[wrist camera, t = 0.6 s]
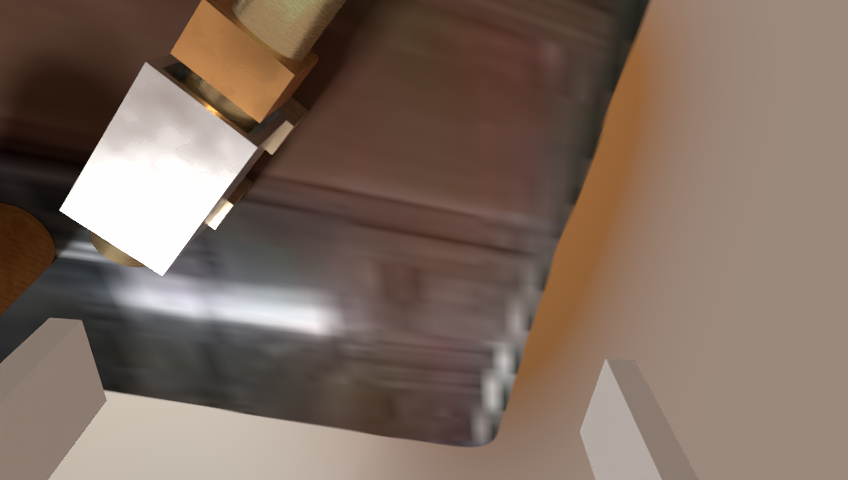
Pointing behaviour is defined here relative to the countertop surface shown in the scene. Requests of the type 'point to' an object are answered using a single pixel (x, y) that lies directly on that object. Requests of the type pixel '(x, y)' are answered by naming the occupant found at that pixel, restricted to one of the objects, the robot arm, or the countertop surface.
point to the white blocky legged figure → (169, 166)
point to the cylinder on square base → (245, 62)
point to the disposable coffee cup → (21, 252)
